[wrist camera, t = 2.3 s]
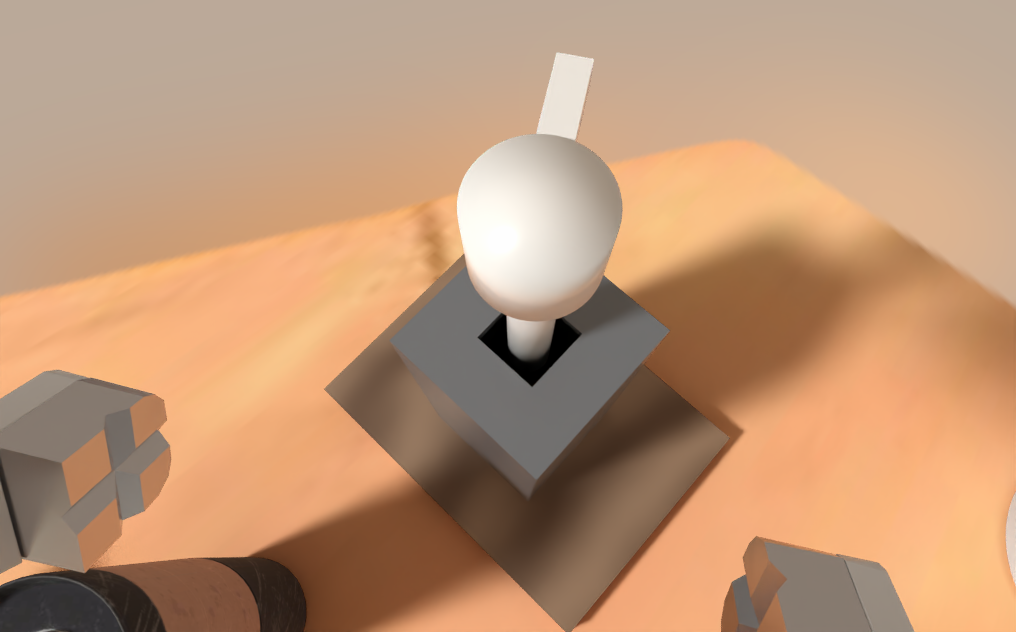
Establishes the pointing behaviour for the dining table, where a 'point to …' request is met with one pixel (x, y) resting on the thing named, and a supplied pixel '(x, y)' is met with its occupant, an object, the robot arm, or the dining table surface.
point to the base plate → (565, 494)
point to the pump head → (540, 219)
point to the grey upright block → (510, 399)
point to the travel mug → (158, 598)
